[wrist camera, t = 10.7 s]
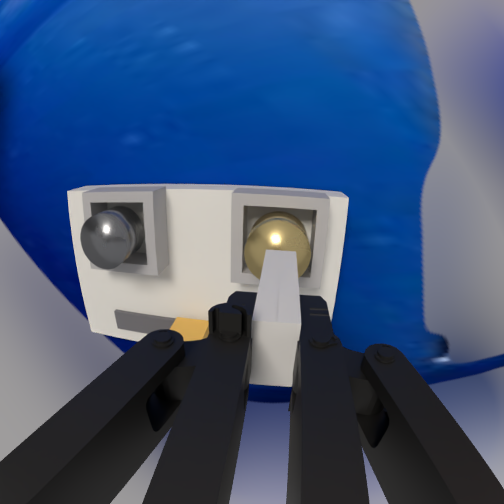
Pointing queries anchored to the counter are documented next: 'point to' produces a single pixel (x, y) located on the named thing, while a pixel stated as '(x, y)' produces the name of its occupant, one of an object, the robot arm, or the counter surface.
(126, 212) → the grey button
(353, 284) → the counter surface
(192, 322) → the slider knob
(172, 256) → the console
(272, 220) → the brass button
